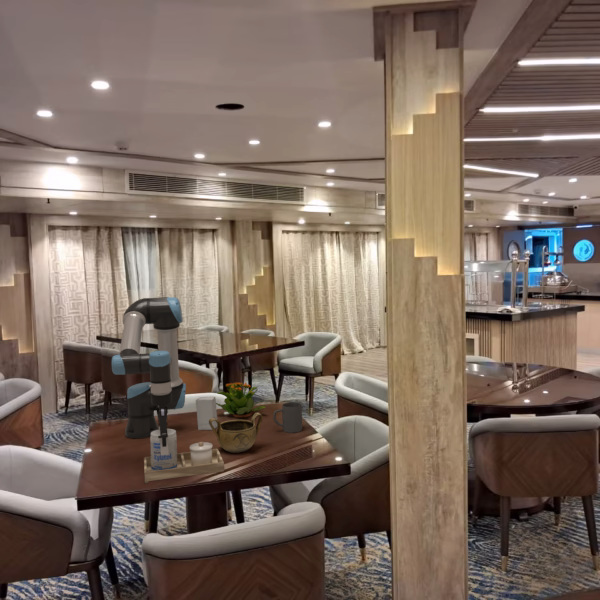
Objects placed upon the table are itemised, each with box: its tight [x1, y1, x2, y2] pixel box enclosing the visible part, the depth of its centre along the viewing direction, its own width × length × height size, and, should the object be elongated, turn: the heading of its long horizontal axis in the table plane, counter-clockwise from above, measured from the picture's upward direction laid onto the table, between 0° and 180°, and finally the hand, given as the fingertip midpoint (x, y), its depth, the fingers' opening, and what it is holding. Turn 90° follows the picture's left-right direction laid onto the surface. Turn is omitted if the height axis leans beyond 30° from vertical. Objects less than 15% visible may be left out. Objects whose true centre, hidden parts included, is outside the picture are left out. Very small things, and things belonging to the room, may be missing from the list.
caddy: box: [143, 448, 225, 485], centre depth 209 cm, size 17×28×4 cm, turn 106°
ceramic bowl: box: [209, 411, 264, 454], centre depth 229 cm, size 22×17×15 cm
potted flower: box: [216, 381, 267, 419], centre depth 283 cm, size 25×24×18 cm
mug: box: [272, 401, 303, 434], centre depth 255 cm, size 14×9×12 cm
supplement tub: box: [149, 428, 178, 471], centre depth 207 cm, size 10×10×15 cm
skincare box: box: [195, 396, 218, 431], centre depth 263 cm, size 8×6×15 cm
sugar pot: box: [189, 441, 213, 466], centre depth 211 cm, size 9×9×9 cm
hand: (163, 448), depth 207 cm, fingers open, 13 cm apart
